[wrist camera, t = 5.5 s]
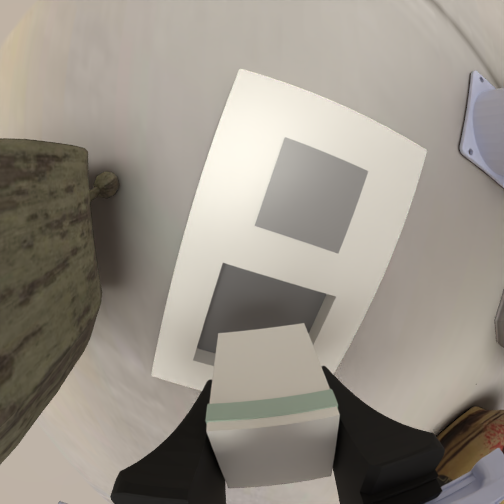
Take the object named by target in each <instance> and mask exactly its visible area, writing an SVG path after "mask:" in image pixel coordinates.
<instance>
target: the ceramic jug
mask: <svg viewBox="0 0 504 504" xmlns="http://www.w3.org/2000/svg"><path fill="white" fill-rule="evenodd" d="M476 385H477V384H476ZM437 439H438V440H439V441H440V443H441V444H442V446H443V448H444V449H445V453H444V456H443V458H442V460H441V461H440V463H439V465H438V466H437V468H436V469H435V470H436V472H437V474H438V478H436V479H437V481H438V483H439V485H440V487H442V486H444V485H446V484H448V483H450V482H451V481H453V480H455V479H457V478H459V477H461V476H462V475H464V474H466V473H468V472H469V471H471V470H472V468H473V466H474V465H475V464H476V463H477V462H478V461H479V460H480V459H482V458H483V457H484V456H486V455H488V454H489V453H491V452H492V451H494V450H495V449H497V448H500V450H501V451H502V452H503V454H504V410H485V409H483V408H481V407H478V406H474V407H472V408H471V409H469V410H468V411H467V412H466V413H465V414H463V415H462V416H460V417H459V418H458V419H457V420H455V421H454V422H453V423H452V424H451V425H450V426H448V427H447V428H446V429H445V430H444V431H443V432H441V433H440V434H439V435H438V436H437ZM500 504H504V500H503V501H502V502H501V503H500Z"/></svg>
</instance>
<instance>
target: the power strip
mask: <svg viewBox="0 0 504 504" xmlns="http://www.w3.org/2000/svg"><path fill="white" fill-rule="evenodd" d="M426 153H427V150H426V149H424V148H423V147H421V146H420V145H418V144H416V143H415V142H413V141H411V140H409V139H408V138H406V137H404V136H402V135H401V134H399V133H397V132H395V131H393V130H392V129H390V128H388V127H386V126H384V125H382V124H380V123H378V122H376V121H374V120H372V119H370V118H368V117H366V116H364V115H362V114H360V113H358V112H356V111H354V110H352V109H349V108H347V107H345V106H343V105H341V104H338V103H336V102H334V101H331V100H329V99H327V98H324V97H322V96H319V95H317V94H314V93H312V92H309V91H307V90H304V89H301V88H299V87H296V86H293V85H291V84H288V83H285V82H282V81H279V80H276V79H273V78H270V77H267V76H264V75H260V74H257V73H254V72H250V71H247V70H243V69H239V72H238V74H237V77H236V79H235V82H234V84H233V87H232V90H231V92H230V95H229V97H228V100H227V103H226V105H225V108H224V111H223V114H222V116H221V119H220V122H219V125H218V128H217V130H216V133H215V136H214V139H213V142H212V145H211V148H210V151H209V154H208V157H207V160H206V163H205V166H204V169H203V172H202V175H201V178H200V182H199V185H198V188H197V191H196V194H195V198H194V201H193V204H192V208H191V211H190V215H189V218H188V221H187V225H186V229H185V232H184V236H183V239H182V243H181V247H180V250H179V254H178V258H177V262H176V266H175V269H174V273H173V277H172V281H171V286H170V290H169V294H168V298H167V302H166V307H165V311H164V315H163V320H162V324H161V329H160V334H159V338H158V343H157V348H156V353H155V358H154V363H153V369H152V374H151V376H154V377H157V378H160V379H163V380H166V381H169V382H172V383H176V384H179V385H183V386H186V387H189V388H193V389H197V390H200V391H202V390H203V388H204V386H205V384H206V382H207V381H208V380H211V379H212V378H213V370H214V363H215V355H216V347H217V340H218V333H227V332H237V331H246V330H255V329H264V328H272V327H279V326H287V325H294V324H301V323H304V324H305V327H306V329H307V332H308V334H309V337H310V339H311V342H312V344H313V347H314V349H315V352H316V354H317V357H318V359H319V362H320V364H321V366H326V367H327V368H328V369H329V370H330V371H331V373H332V374H334V373H335V371H336V369H337V367H338V366H339V364H340V362H341V360H342V359H343V357H344V355H345V353H346V351H347V349H348V348H349V346H350V344H351V342H352V340H353V338H354V336H355V334H356V332H357V331H358V329H359V327H360V325H361V323H362V321H363V319H364V317H365V315H366V313H367V310H368V308H369V306H370V304H371V302H372V300H373V298H374V296H375V294H376V291H377V289H378V287H379V285H380V282H381V280H382V278H383V276H384V273H385V271H386V269H387V266H388V264H389V262H390V259H391V257H392V254H393V252H394V249H395V247H396V244H397V242H398V239H399V236H400V234H401V231H402V228H403V226H404V223H405V220H406V217H407V215H408V212H409V209H410V206H411V203H412V200H413V197H414V194H415V191H416V187H417V184H418V181H419V178H420V174H421V171H422V168H423V164H424V160H425V157H426Z"/></svg>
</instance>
